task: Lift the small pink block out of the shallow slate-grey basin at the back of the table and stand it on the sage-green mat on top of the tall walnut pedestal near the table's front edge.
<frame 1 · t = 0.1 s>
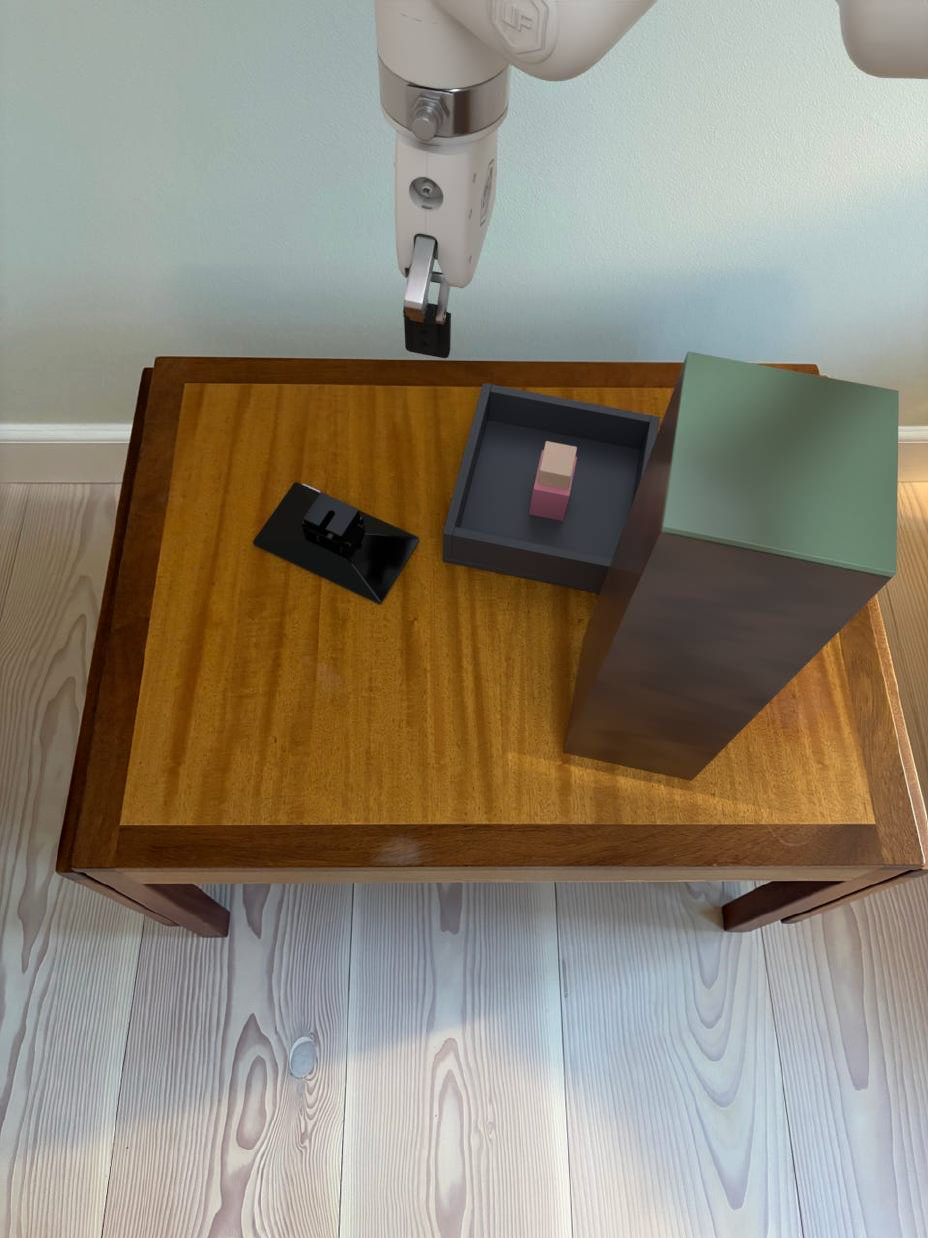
hand: (443, 302, 66), 16 cm above the table, tool pointing down, fingers open, 9 cm apart
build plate: (337, 543, 76), on the table
stand: (786, 455, 40), on the table
basin: (549, 503, 78), on the table
pink block: (550, 498, 78), point 1 cm above the table, touching basin
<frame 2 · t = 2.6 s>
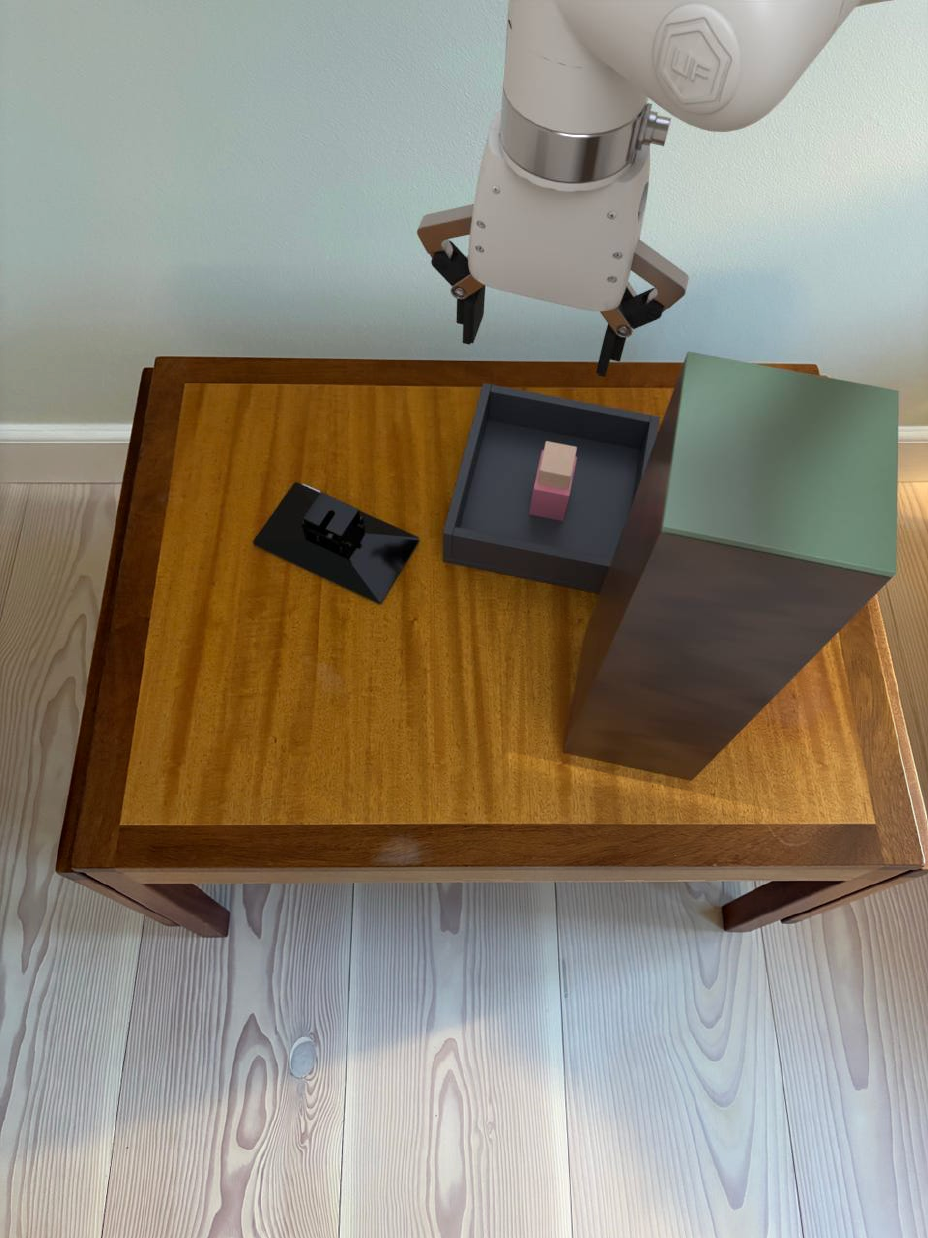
hand: (538, 345, 63), 18 cm above the table, tool pointing down, fingers open, 9 cm apart
nothing on the table moved.
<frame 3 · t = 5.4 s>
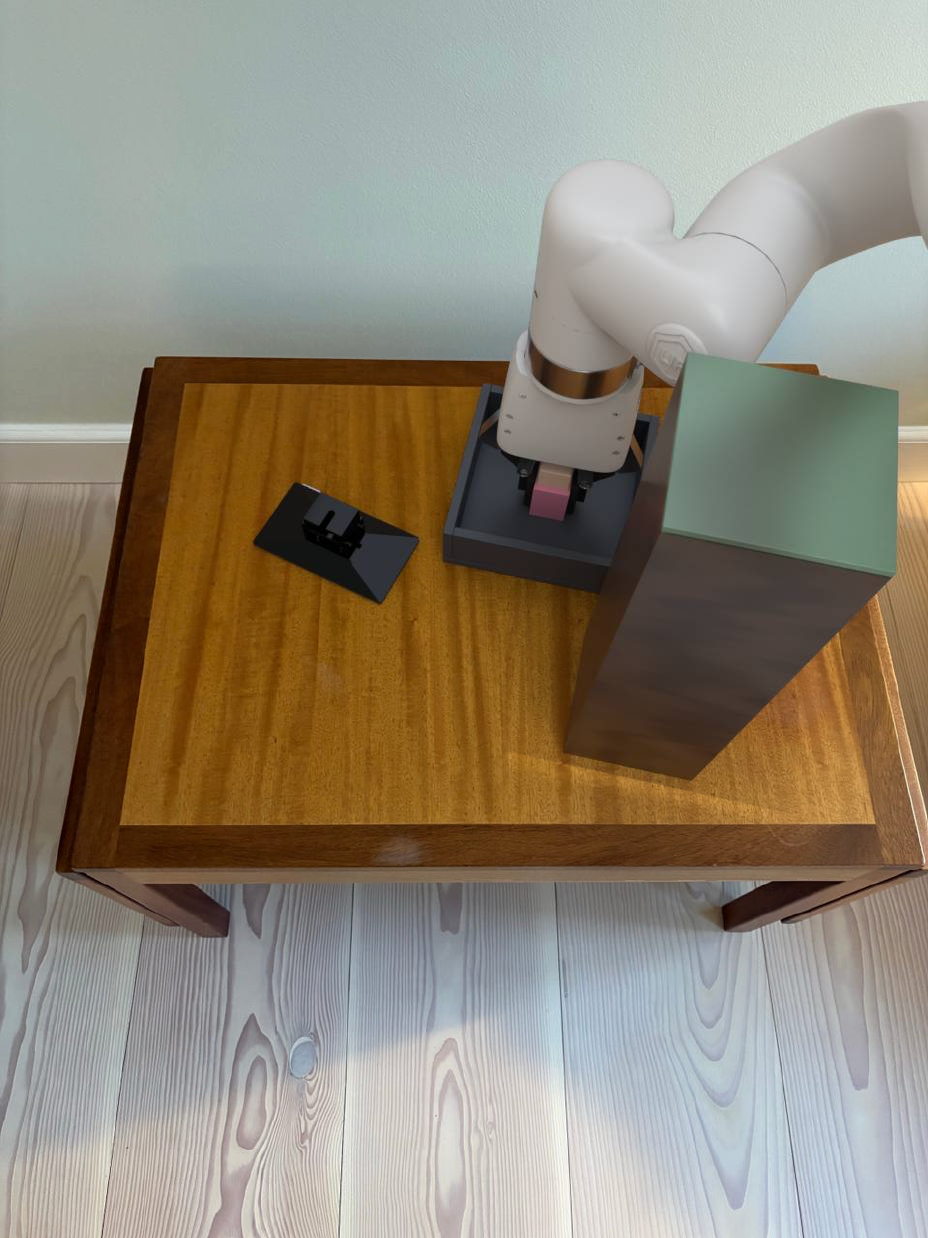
hand: (550, 494, 77), 1 cm above the table, tool pointing down, fingers closed on pink block, 3 cm apart
pink block: (550, 498, 78), point 1 cm above the table, touching basin, gripper
everything else where it was.
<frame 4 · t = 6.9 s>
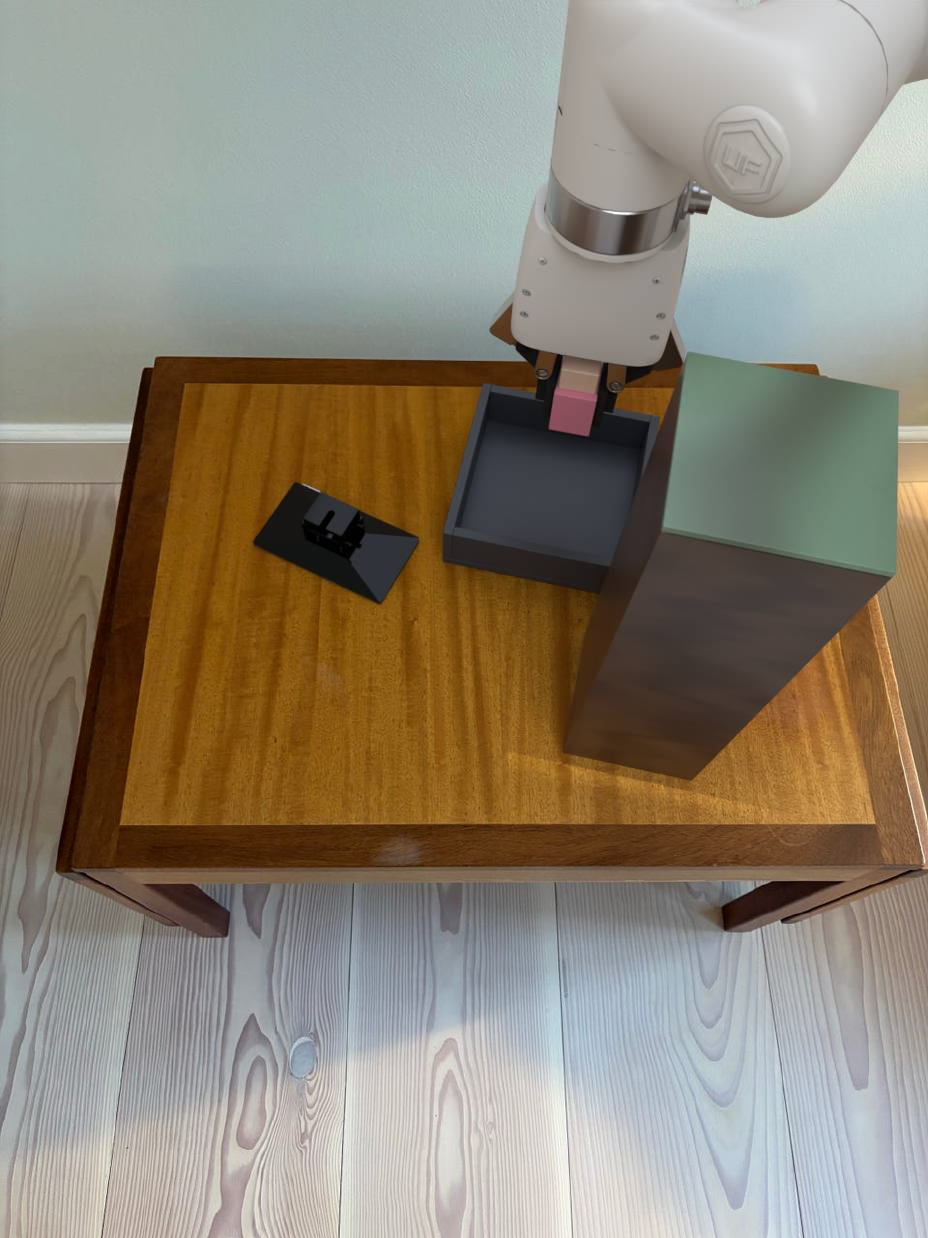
hand: (573, 406, 66), 14 cm above the table, tool pointing down, fingers closed on pink block, 3 cm apart
pink block: (572, 411, 67), point 13 cm above the table, touching gripper
everything else where it was.
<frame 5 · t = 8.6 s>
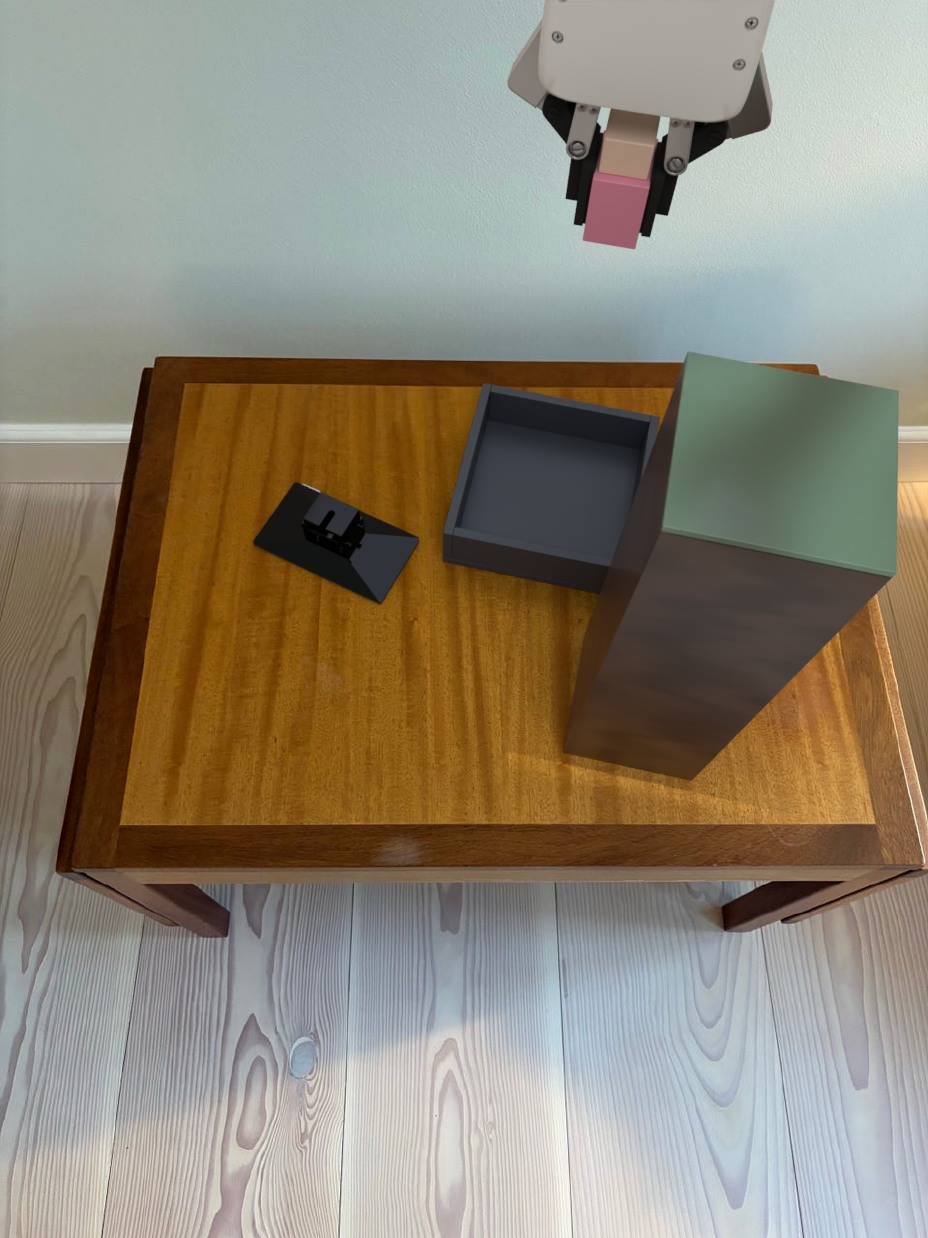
hand: (615, 211, 50), 31 cm above the table, tool pointing down, fingers closed on pink block, 3 cm apart
pink block: (613, 220, 51), point 30 cm above the table, touching gripper
everything else where it was.
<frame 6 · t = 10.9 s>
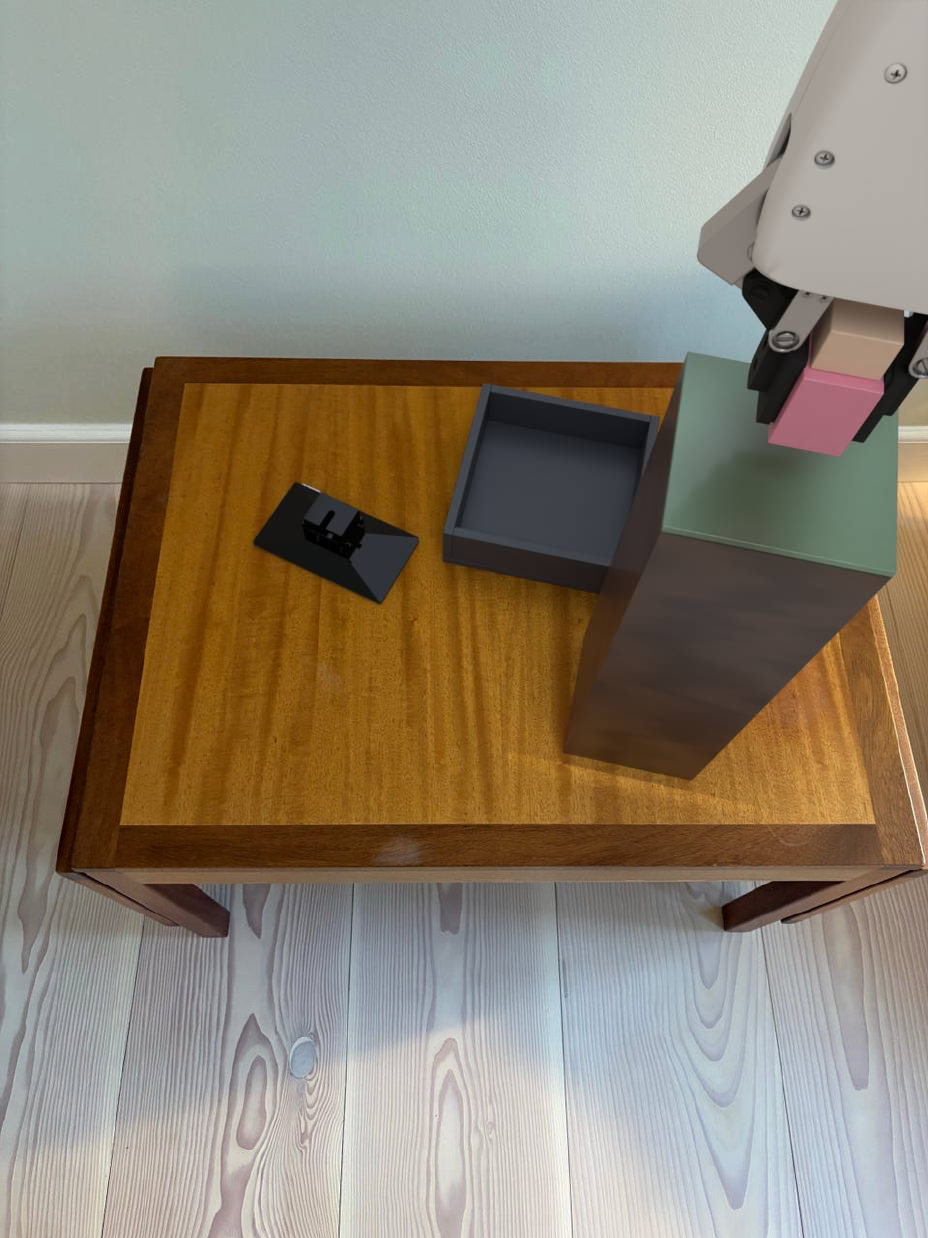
hand: (811, 403, 37), 37 cm above the table, tool pointing down, fingers closed on pink block, 3 cm apart
pink block: (806, 412, 38), point 36 cm above the table, touching gripper
everything else where it was.
when the fingers open (34 cm above the table, at t = 12.0 s): pink block stays where it is, resting on stand.
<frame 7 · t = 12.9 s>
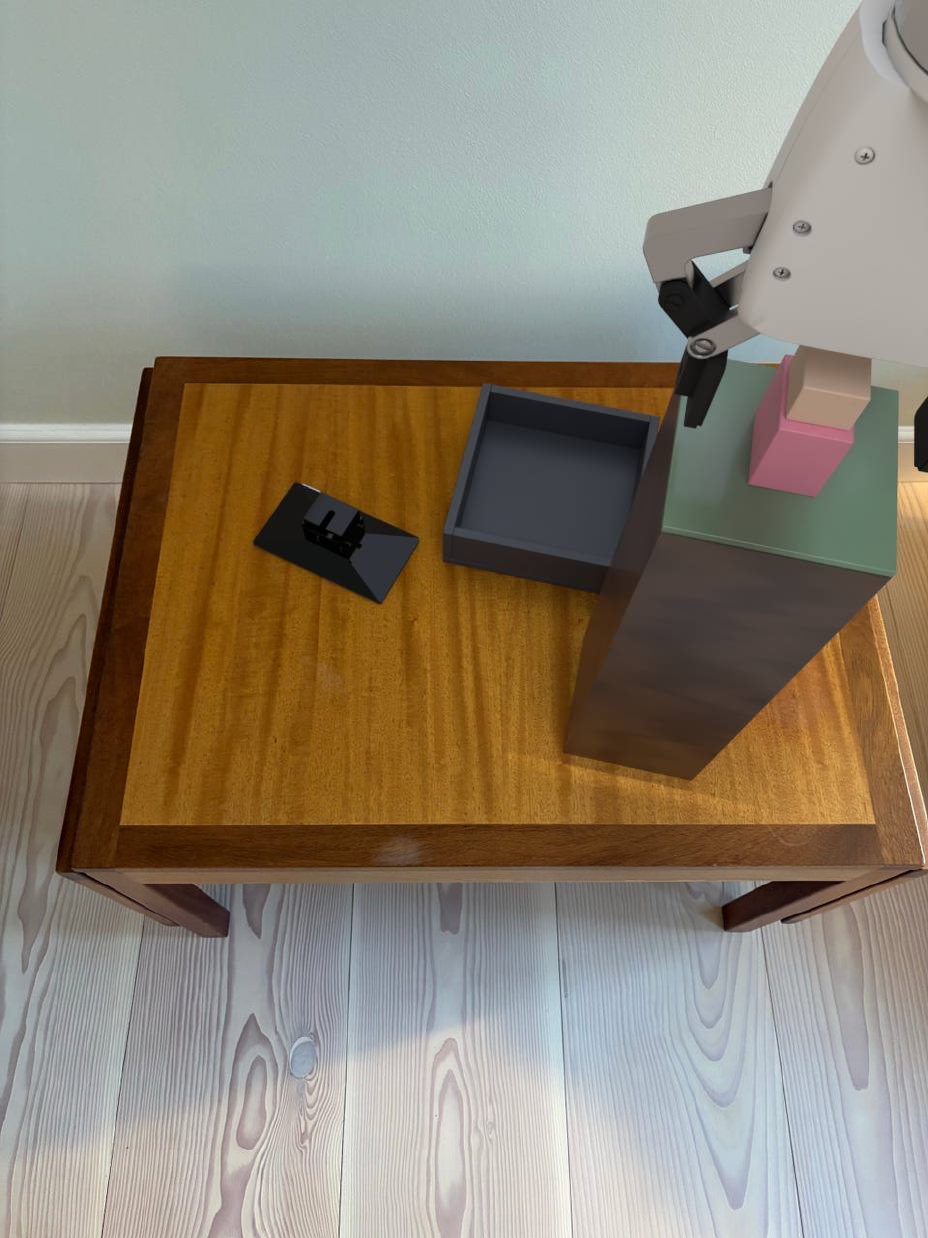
hand: (807, 423, 38), 36 cm above the table, tool pointing down, fingers open, 9 cm apart
pink block: (784, 454, 40), point 34 cm above the table, touching stand
everything else where it was.
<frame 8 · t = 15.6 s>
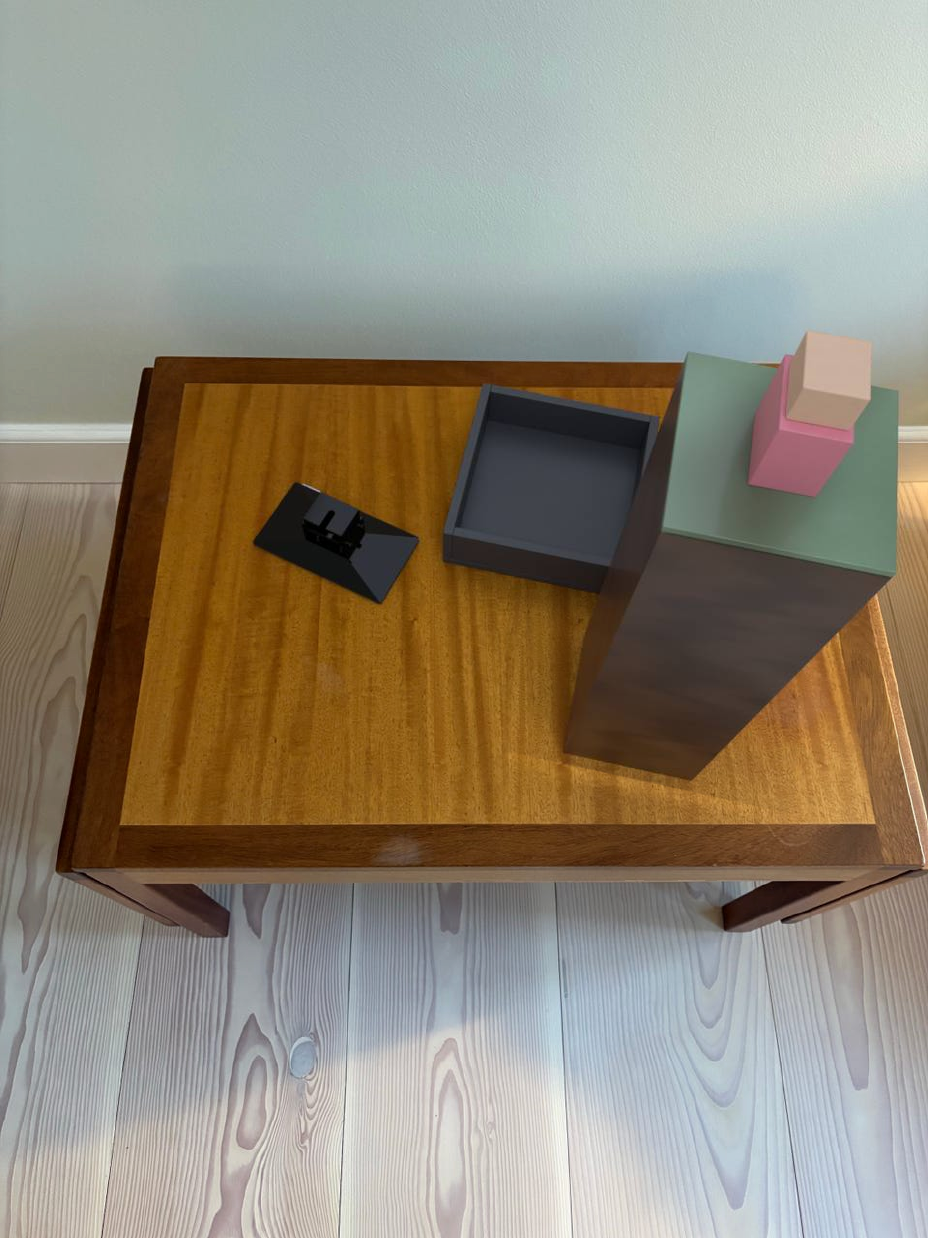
nothing on the table moved.
at the end: pink block inside the target area on the stand (0.1 cm from its centre), point 0.0 cm above the stand's base; pink block tilted 0°; the gripper is holding nothing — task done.
